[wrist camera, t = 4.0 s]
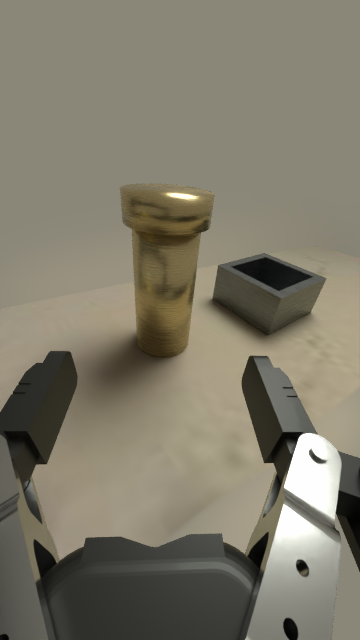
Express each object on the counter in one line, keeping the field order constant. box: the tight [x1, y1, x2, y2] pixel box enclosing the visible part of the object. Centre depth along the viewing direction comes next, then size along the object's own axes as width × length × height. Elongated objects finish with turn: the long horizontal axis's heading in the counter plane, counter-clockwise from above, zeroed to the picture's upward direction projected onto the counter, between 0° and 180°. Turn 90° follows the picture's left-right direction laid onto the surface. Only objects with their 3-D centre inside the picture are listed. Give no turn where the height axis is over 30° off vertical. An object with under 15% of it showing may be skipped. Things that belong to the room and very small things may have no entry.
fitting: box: [120, 184, 214, 357], centre depth 20 cm, size 6×6×13 cm
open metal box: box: [213, 253, 326, 335], centre depth 29 cm, size 9×9×4 cm
